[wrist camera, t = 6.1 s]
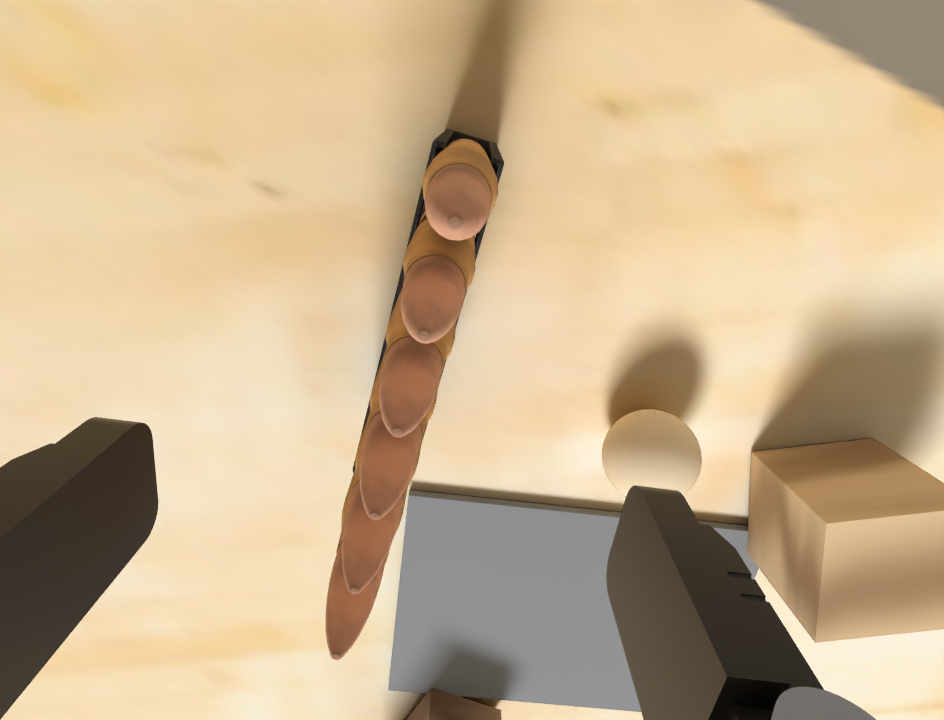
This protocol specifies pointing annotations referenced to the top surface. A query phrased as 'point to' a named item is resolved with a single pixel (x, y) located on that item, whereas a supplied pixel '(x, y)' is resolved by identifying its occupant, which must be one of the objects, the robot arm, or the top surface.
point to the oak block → (849, 538)
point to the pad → (513, 602)
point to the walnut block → (451, 708)
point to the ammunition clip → (410, 370)
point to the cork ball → (651, 452)
